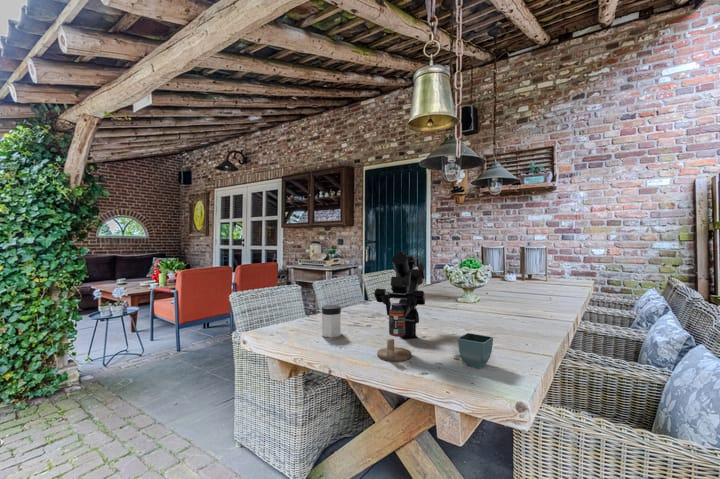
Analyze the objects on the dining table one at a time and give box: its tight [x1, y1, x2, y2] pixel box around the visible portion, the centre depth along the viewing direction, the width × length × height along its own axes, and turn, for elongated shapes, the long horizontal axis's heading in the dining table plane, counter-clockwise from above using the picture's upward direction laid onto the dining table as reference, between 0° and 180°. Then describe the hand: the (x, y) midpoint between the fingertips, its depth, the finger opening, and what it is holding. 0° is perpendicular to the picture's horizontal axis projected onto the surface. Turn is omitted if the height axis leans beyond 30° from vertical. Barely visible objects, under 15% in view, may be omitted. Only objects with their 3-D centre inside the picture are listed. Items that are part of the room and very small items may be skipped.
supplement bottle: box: [388, 302, 405, 338], centre depth 126 cm, size 6×6×11 cm
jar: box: [321, 304, 342, 339], centre depth 148 cm, size 9×8×12 cm
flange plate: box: [376, 338, 412, 363], centre depth 121 cm, size 12×12×7 cm
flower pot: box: [457, 332, 494, 369], centre depth 112 cm, size 9×9×9 cm
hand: (396, 315), depth 125 cm, fingers closed on supplement bottle, 6 cm apart
